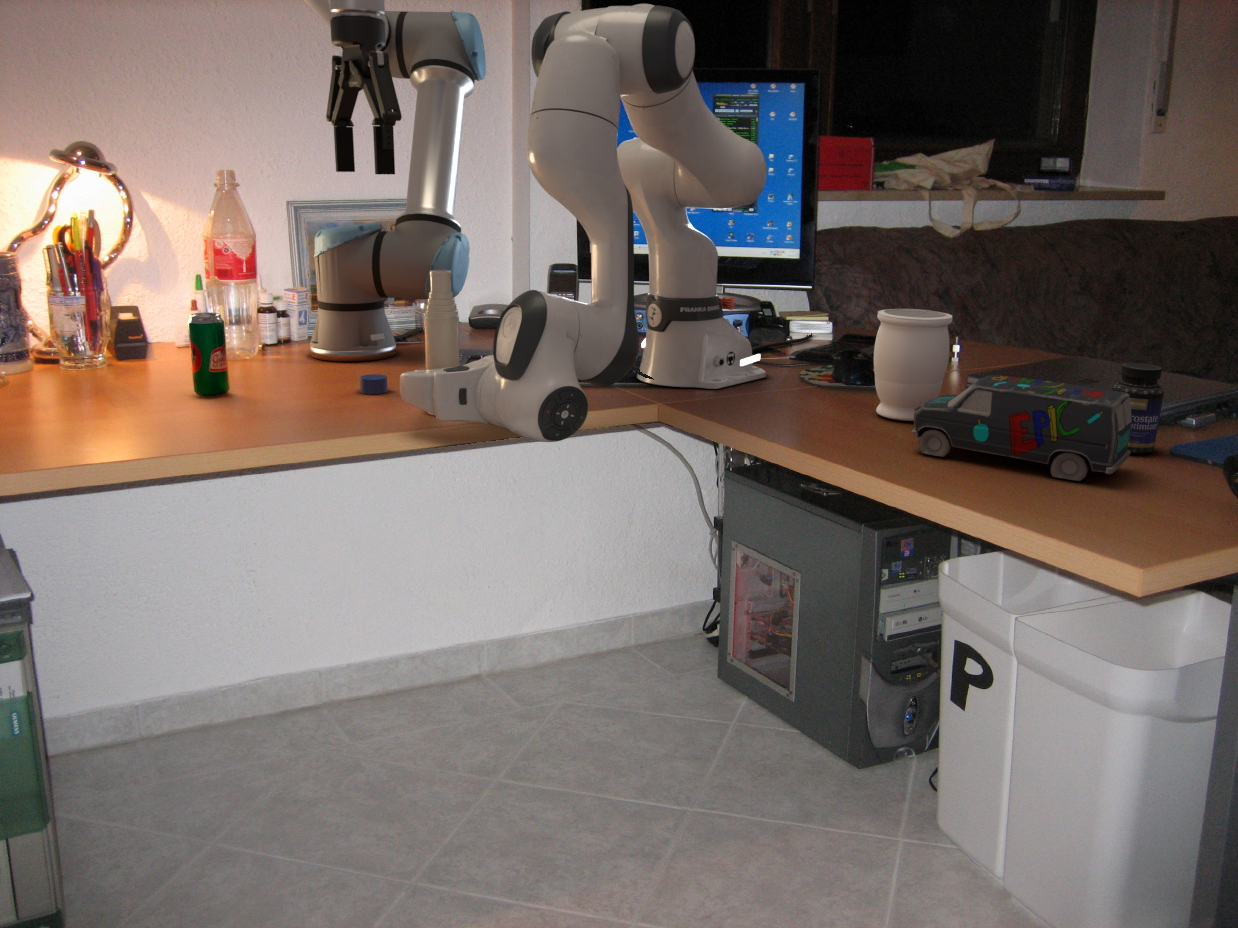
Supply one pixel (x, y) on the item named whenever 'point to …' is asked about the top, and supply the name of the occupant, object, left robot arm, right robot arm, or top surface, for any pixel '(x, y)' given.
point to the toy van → (1031, 424)
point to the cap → (373, 384)
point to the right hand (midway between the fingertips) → (449, 372)
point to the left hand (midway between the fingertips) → (364, 173)
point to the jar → (909, 359)
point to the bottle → (441, 324)
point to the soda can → (208, 354)
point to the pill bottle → (1142, 403)
